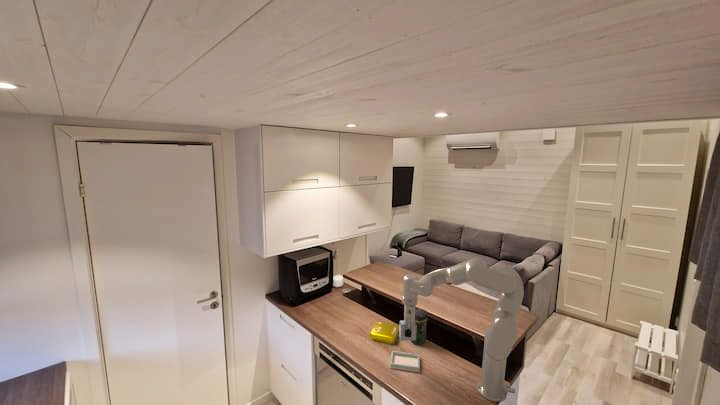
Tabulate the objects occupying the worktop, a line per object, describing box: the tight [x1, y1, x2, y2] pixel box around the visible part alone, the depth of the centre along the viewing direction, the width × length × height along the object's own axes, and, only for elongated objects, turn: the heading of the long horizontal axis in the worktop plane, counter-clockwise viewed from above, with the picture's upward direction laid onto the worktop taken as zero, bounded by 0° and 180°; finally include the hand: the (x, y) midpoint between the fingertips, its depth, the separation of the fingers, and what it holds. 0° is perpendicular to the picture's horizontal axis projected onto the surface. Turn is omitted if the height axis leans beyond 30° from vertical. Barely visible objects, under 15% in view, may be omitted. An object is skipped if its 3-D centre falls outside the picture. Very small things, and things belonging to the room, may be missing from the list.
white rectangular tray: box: [389, 350, 421, 373], centre depth 153 cm, size 15×11×2 cm
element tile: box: [370, 320, 399, 345], centre depth 177 cm, size 15×15×5 cm
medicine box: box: [398, 319, 417, 341], centre depth 148 cm, size 8×4×9 cm, turn 93°
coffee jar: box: [409, 308, 429, 346], centre depth 171 cm, size 10×8×19 cm
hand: (407, 332), depth 149 cm, fingers closed on medicine box, 5 cm apart
